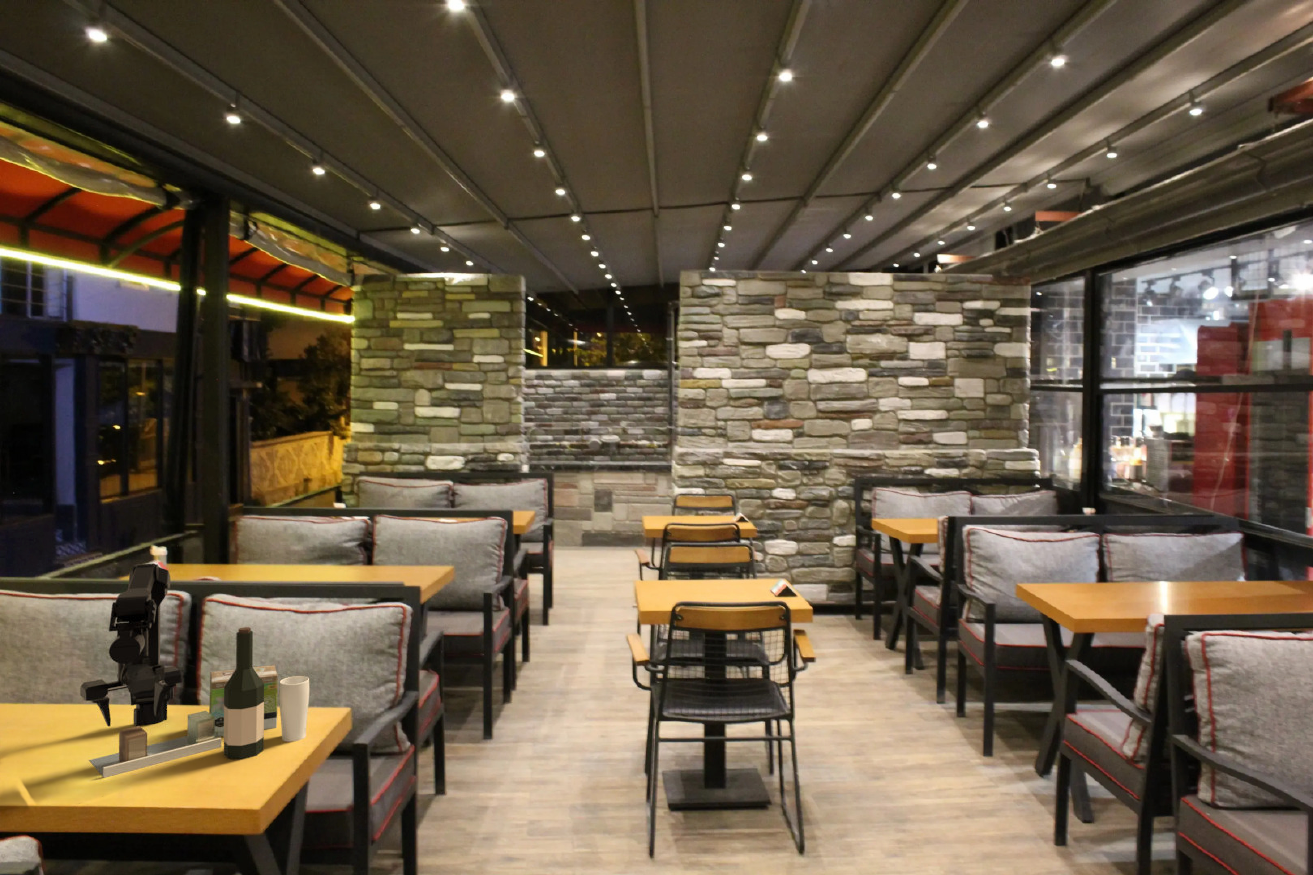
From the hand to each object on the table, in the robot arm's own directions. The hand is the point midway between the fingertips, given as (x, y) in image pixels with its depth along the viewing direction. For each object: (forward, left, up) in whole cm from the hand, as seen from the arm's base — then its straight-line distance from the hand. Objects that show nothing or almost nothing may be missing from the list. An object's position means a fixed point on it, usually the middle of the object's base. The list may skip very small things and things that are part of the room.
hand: (132, 720), depth 182 cm
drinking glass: (-32, +10, -11) cm, 35 cm away
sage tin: (-14, 0, -10) cm, 17 cm away
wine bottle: (-20, +11, -11) cm, 25 cm away
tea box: (-26, -6, -11) cm, 28 cm away
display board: (-5, -2, -11) cm, 12 cm away
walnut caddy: (0, 0, -10) cm, 10 cm away
